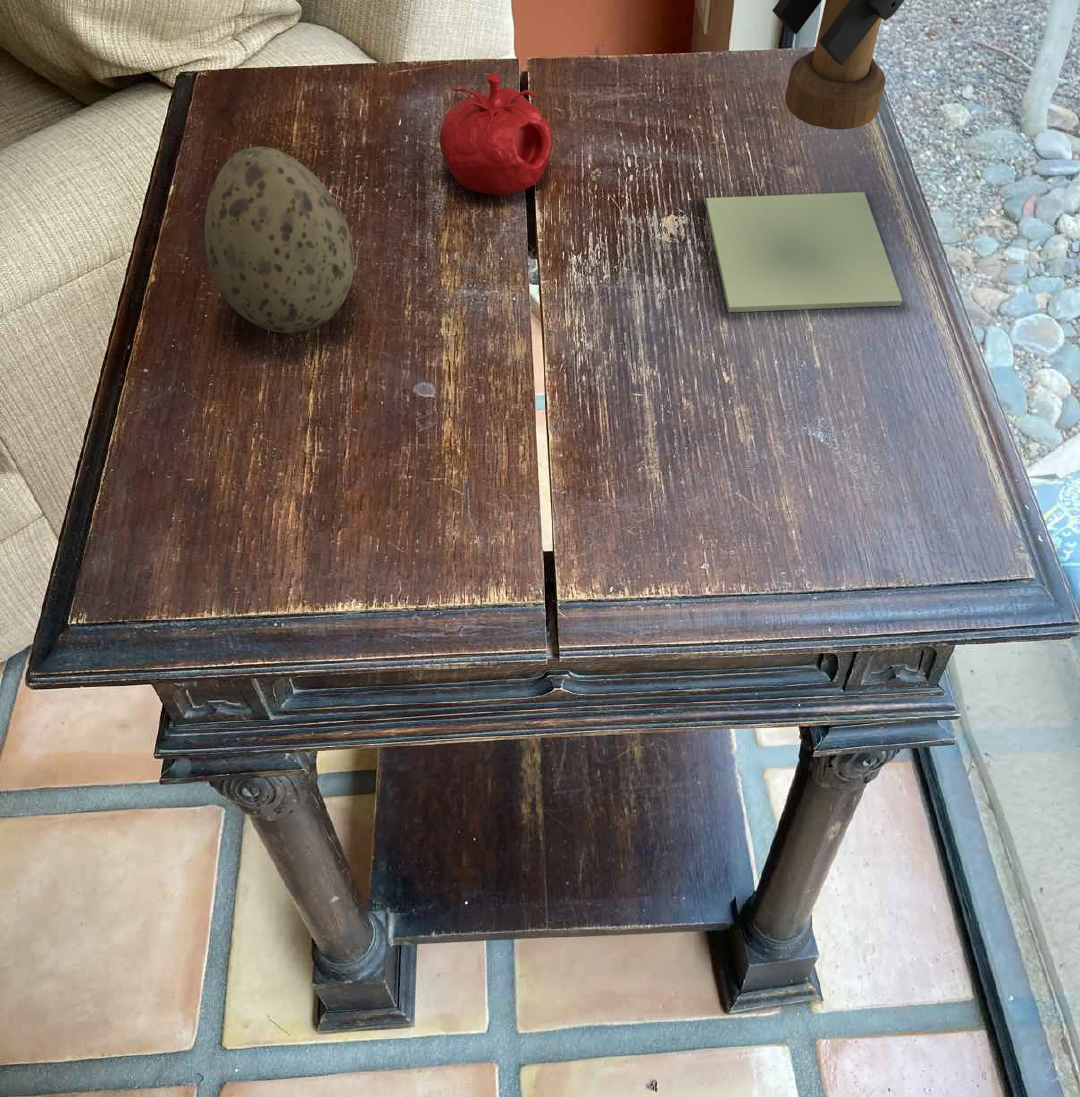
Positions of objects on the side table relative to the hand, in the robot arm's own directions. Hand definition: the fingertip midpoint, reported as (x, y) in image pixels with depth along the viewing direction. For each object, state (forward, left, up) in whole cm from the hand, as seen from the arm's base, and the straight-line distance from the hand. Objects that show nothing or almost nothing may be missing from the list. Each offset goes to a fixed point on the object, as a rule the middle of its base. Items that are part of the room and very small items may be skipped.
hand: (807, 37), depth 69 cm
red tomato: (+26, +6, -21) cm, 34 cm away
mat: (0, -6, -21) cm, 22 cm away
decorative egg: (+23, +30, -21) cm, 43 cm away
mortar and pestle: (-1, -4, -6) cm, 7 cm away
